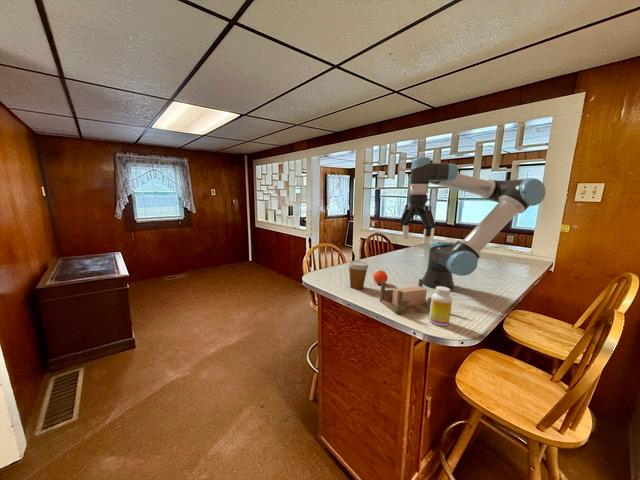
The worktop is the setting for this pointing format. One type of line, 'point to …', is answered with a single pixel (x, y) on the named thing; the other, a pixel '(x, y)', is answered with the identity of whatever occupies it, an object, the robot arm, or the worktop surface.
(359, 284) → the disposable coffee cup
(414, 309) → the rack
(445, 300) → the supplement bottle
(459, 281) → the worktop surface
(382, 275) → the clementine
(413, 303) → the pinkish tan block
